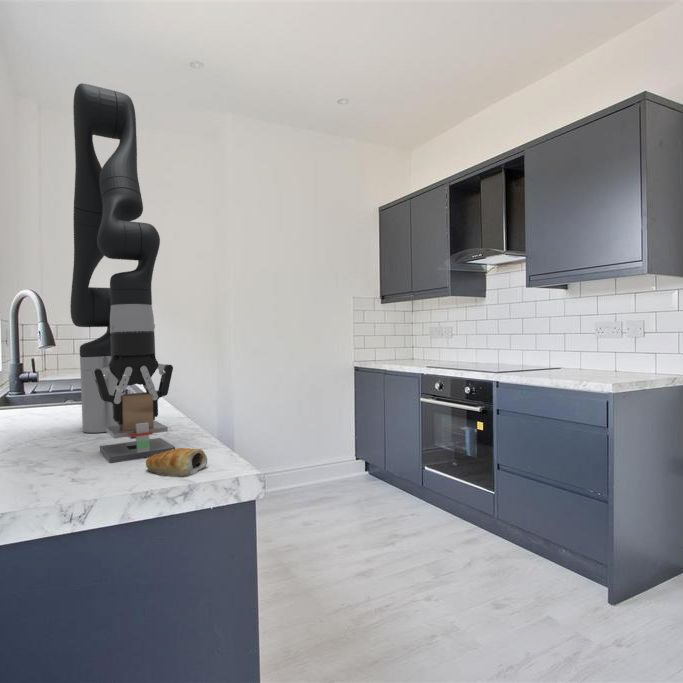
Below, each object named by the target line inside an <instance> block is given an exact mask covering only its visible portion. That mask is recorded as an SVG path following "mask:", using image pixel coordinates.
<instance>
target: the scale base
mask: <svg viewBox="0 0 683 683" xmlns="http://www.w3.org/2000/svg"><path fill="white" fill-rule="evenodd" d="M145 432H149V423H140V424H136V434H138V433H145ZM135 439H136V440H135V441H128V442H119V443H113V444H112V443H111V444H106V445H105V444H104V445H99V452H100V454H101V455H102V456H103V457H104V458H105V460H106V461H107V462H108V464H112V463H119V462H124V461H125V462H126V461H132V460H138V459H143V458H149V457H151V456H152V455H155V454H160V453H162V452H166V451H169V450H172V449H176V446H174V445H173V444H171V443H169V442H168V441H166V439H164V438H161V437H155V438H150V435H143V436H136V438H135Z"/></svg>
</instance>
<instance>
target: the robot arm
mask: <svg viewBox="0 0 683 683" xmlns="http://www.w3.org/2000/svg"><path fill="white" fill-rule="evenodd" d="M75 87H76V88H75V90H74V96H73V108H72V109H73V131H74V132H73V133H74V134H73V135H74V154H75V156H74V157H75V170H74V171H75V173H74V174H75V175H74V192H73V194H74V198H73V269H72V281H71V294H70V319H71V321H72V323H73V325H74V326H75V327H79V328H106V332H105V333H104V334H103V335H101V336H99V337H98V338H96V339H94V340H90V341H88V342H85V343H82V344H81V345H80V346H79V363H80V364H79V366H80V367H79V368H80V390H81V392H80V394H81V422H82V432H83V433H92V434H95V433H107V432H106V427H107V426H115V425H120V424H123V418H122V404H121V400H122V396H123V394H126V390H127V387H128V386H133V385H140V386H141V385H142V387H143V388H144V390H145V392H147V393H149V394H153V419H154V421H156V418H157V417H158V416H159V403H158V402H159V399H161V398H163V397H166V396H167V395H168V393H169V389H170V384H171V379H172V375H173V371H174V366H173V365H172V364H162V363H159V362H158V360H157V357H156V342H155V341H156V338H155V337H156V336H155V328H156V325H155V318H154V310H153V300H152V299H153V297H152V296H153V295H152V293H153V292H152V283H153V281H152V280H153V275H154V274H153V273H154V270H155V269H154V268H155V264H156V260H157V257H158V254H159V250H160V246H161V245H160V244H161V238H160V235H159V232H158V230H157V228H156V227H155V226H154V225H153V224H151V223H147V222H141V221H140V222H139V221H138V222H137V221H135V220H137V219H139V218H140V217H141V216H142V214H143V212H144V204H143V203H144V202H143V199H142V193H141V188H140V182H139V177H138V176H139V174H138V142H137V141H138V140H137V139H138V138H137V137H138V136H137V119H136V118H137V116H136V111H135V110H136V109H135V105H134V102H133V100H132V98H131V97H130V95H128V94H127V93H124V92H120V91H117V90H113V89H109V88H105V87H101V86H97V85H92V84H90V83H89V84H88V83H79V84H78V85H77V86H75ZM93 136H96V137H102V138H108V139H112V140H113V139H114V140H118V141H119V143H118V146H117V147H116V149H115V150H114V151H113V153H112V154H111V155H110V156H109V158H108V159H107V160H106V162H105V163H104V164H103V166H101V164H100V161H99V159H98V156H97V153H96V150H95V146H94V141H93V139H94V138H93ZM104 257H105V258H107V259H110V260H111V259H112V260H122V261H123V260H124V261H126V260H127V261H138V263H137V266H136V268H135V269H134V270H130V271H129V270H128V271H123V272H122V271H121V272H117V273H114V274H112V275H111V277H110V279H109V287H96V286H95V287H94V286H93V287H91V286H90V282H91V279H92V276H93V274H94V272H95V270H96V268H97V266H98V265H99V263H100V262H101V260H102V259H103V258H104ZM157 370H158V373H159V375H161V377H160V380H159V385H158V389H157V390H156V388H155V384H154V382H153V380H152V377H153V376H154V374H155V373H156V371H157Z"/></svg>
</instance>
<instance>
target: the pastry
mask: <svg viewBox="0 0 683 683" xmlns="http://www.w3.org/2000/svg"><path fill="white" fill-rule="evenodd" d="M207 465H208V457H207V454H206V452H205V451H204V450H203V449H202V448H190V447H178V448H175V449H172V450H169V451H166V452H162V453H160V454H155V455H152V456H151V457H147V458H146V460H145V466H146V468H147V469H148V471H149V472H150V473H151V472H152V473H155V474H157V475H159V476H161V475H162V476H163V475H164V476H171V477H188V476H192V475H194V474H196V473H197V472H199V471H201V470H203V469H204V468H206V466H207Z"/></svg>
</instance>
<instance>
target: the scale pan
mask: <svg viewBox="0 0 683 683" xmlns="http://www.w3.org/2000/svg"><path fill="white" fill-rule="evenodd" d="M168 429H169V428H168V426H166V425H164V424H162V423H160V422H159V421H157V420H154V427H149V432H145V433H138V434H136V429H133V430H125V431H124V430H123V429H122V428H120V427H119V425H115V426H107V427H106V432H105V433H107V434H108V435H109V436H111V437H112V438H113V439H121V438H122V439H123V438H129V439H130V440H133V439H136V436H143V435H149V436H150V435H153V434H158V433H165V432H168V431H169V430H168Z"/></svg>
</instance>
